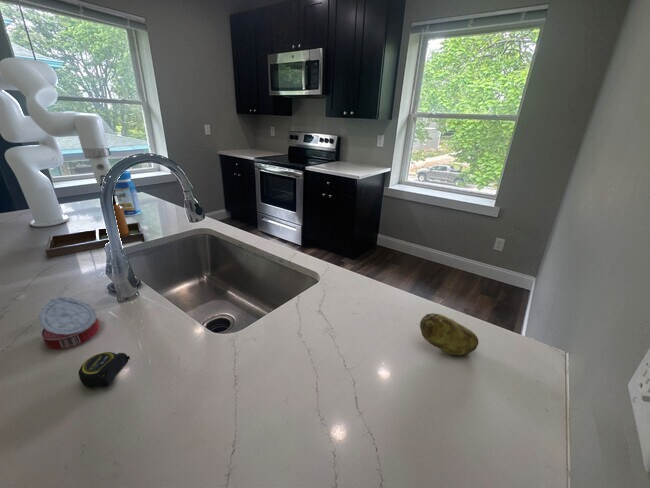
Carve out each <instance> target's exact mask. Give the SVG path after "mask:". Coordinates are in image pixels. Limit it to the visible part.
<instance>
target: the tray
mask: <svg viewBox="0 0 650 488" xmlns="http://www.w3.org/2000/svg"><path fill="white" fill-rule="evenodd" d="M127 226H128V230H129V234H130V235H126V236H120V238H121V241H122V245H127V244H133V243H138V242H141V243H145V242H146V240H145V236H144V232H143V229H142V226H141V224H140V222H139V221H138V222H132V223H131V222H130V223H127ZM108 242H109V240H108V236H107V233H106V229H105V227H99V228H94V229H86V230H79V231H74V232H68V233H67V232H66V233H61V234H54V235H50V236H48V240H47V244H46V247H45V253H46V255H47V258H48V259H52V258H58V257H64V256H67V255H68V256H69V255H75V254H79V253H85V252H90V251H95V250H101V249H105V248H104V247H105V244H106V243H108ZM122 245H121V246H122Z"/></svg>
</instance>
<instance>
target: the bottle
mask: <svg viewBox="0 0 650 488" xmlns="http://www.w3.org/2000/svg"><path fill="white" fill-rule="evenodd" d="M113 194H114V198H115V202H116V204H114V205H113V206H114V211H115V216H116V220H117V225H118V229H119V233H120V236H126V235H130V234H129V230H128V226H127V224H128V223H127V219H126V216H125V215H124V211H123V208H122V206H119V203H118V202H117V200H116V197H115V196H116V194H115V192H113Z"/></svg>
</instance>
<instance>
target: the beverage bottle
mask: <svg viewBox="0 0 650 488" xmlns="http://www.w3.org/2000/svg"><path fill="white" fill-rule="evenodd" d="M124 171H125V172H124V173H123V174H122V175H121V176H120V178H119V179H118V181H117V183H116V185H115V189H114V190H115V192H114V195H115V196H116V199H117V200H116V201H117V203H119V206H122V208H123V211H124V215H125V217H135V216H138V215H140V214H142V209H141V205H140V201H139V196H138V190H137V189H136V185H135V183H134V182H133V181H132V180H131V179H132V175H131V172H130V170H124Z"/></svg>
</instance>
